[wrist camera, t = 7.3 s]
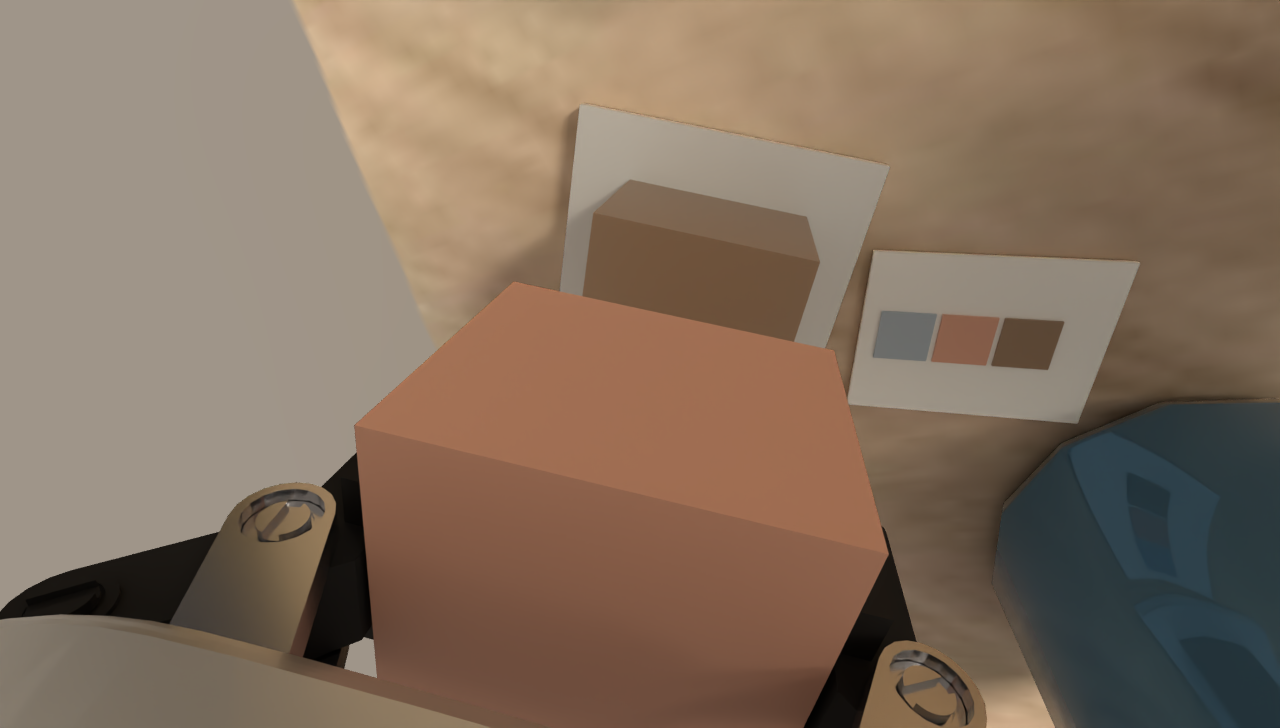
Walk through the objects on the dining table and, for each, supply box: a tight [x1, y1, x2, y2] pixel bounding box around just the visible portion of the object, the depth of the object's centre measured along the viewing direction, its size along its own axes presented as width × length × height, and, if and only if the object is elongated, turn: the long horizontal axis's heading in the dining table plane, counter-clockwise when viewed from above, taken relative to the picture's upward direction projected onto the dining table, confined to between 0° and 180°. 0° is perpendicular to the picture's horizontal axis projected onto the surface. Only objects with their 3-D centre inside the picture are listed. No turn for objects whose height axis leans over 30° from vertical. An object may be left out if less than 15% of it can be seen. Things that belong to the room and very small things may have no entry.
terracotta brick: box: [354, 282, 889, 728], centre depth 10 cm, size 6×6×5 cm
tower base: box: [560, 103, 890, 348], centre depth 19 cm, size 10×10×6 cm
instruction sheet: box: [847, 250, 1140, 424], centre depth 21 cm, size 8×6×1 cm
